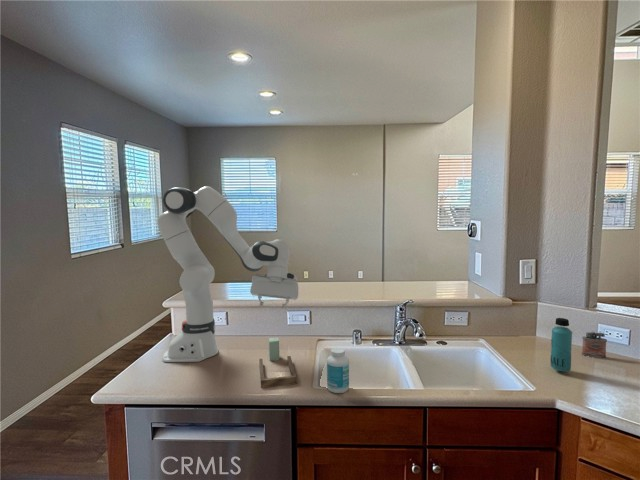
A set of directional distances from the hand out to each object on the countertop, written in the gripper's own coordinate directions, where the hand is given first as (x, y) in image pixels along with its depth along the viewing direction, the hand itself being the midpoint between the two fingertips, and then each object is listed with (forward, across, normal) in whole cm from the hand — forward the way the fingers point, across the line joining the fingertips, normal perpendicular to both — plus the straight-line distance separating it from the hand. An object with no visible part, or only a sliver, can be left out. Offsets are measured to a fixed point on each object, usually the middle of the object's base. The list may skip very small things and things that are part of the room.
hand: (272, 307), depth 148 cm
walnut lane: (+26, +5, -4) cm, 26 cm away
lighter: (+8, +132, -9) cm, 133 cm away
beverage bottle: (+17, +109, -18) cm, 112 cm away
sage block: (+19, +3, +9) cm, 21 cm away
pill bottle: (+30, +27, -18) cm, 44 cm away
